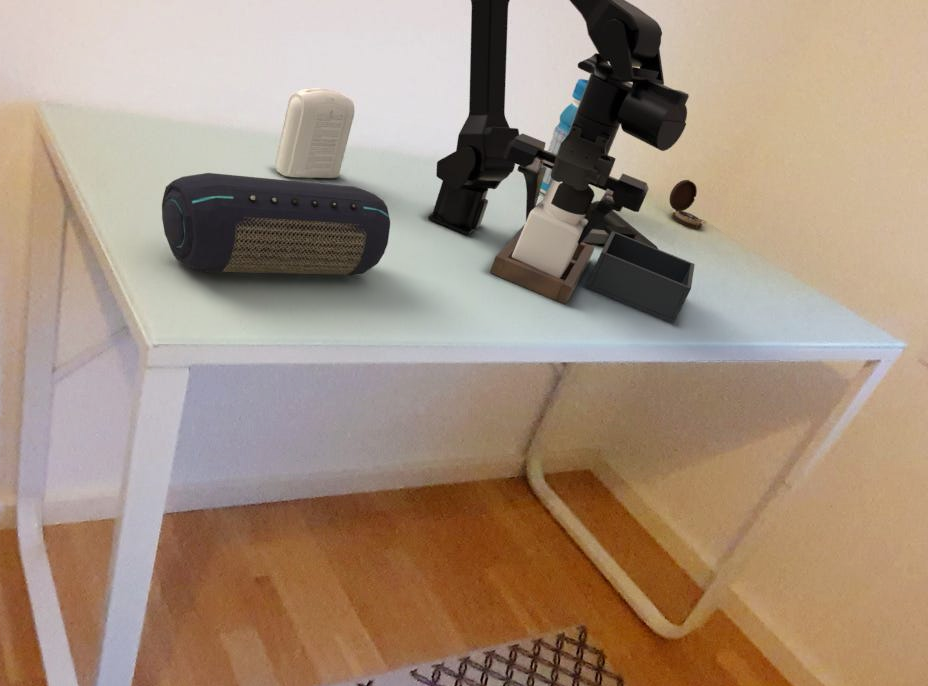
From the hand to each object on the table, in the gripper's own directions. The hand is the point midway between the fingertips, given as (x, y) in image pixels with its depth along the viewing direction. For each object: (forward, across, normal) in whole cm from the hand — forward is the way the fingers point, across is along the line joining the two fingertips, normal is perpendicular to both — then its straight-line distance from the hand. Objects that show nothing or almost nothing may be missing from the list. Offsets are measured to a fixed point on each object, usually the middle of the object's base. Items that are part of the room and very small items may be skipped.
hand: (553, 232), depth 115 cm
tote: (+7, +14, +10) cm, 18 cm away
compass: (+7, +19, +63) cm, 66 cm away
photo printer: (+7, -37, +3) cm, 38 cm away
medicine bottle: (+5, 0, 0) cm, 5 cm away
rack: (+7, 0, +5) cm, 8 cm away
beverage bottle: (+7, -6, +45) cm, 46 cm away
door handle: (+7, +4, +29) cm, 30 cm away
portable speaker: (+7, -25, -30) cm, 40 cm away
